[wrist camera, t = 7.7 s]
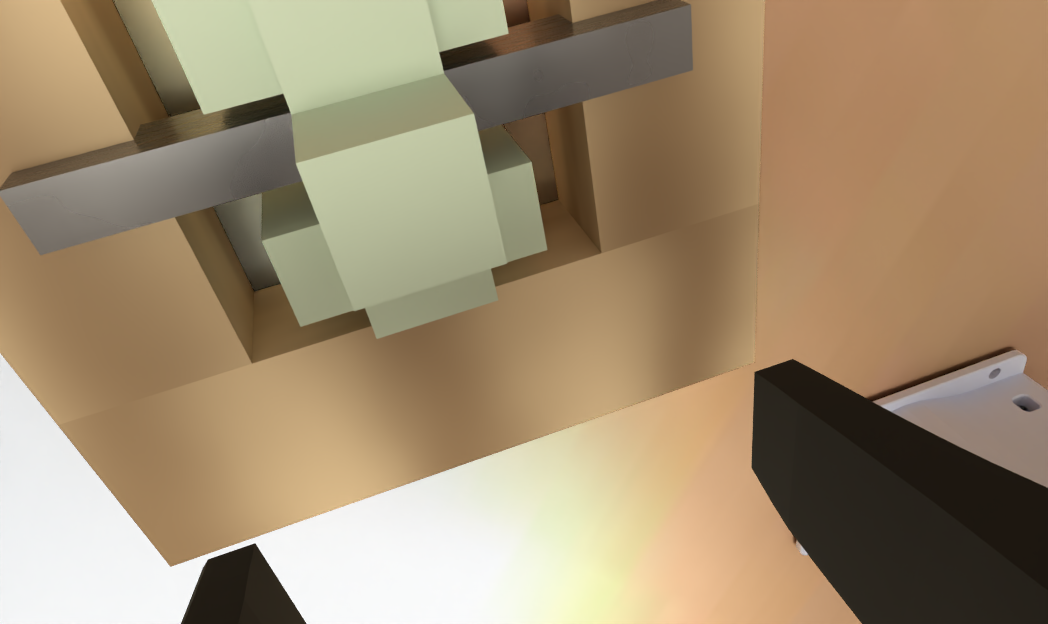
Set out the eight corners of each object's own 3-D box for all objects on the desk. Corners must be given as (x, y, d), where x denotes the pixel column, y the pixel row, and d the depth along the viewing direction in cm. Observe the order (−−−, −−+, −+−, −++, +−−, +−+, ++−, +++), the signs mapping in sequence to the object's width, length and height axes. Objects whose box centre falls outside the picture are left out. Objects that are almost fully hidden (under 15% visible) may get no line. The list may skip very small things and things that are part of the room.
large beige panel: (685, -267, 14) (802, -296, 11) (702, 305, 22) (770, 379, 19) (-205, -78, 12) (-369, -48, 9) (181, 479, 20) (166, 594, 17)
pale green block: (448, -110, 13) (550, -79, 8) (510, 195, 17) (606, 335, 12) (165, -44, 13) (102, 31, 8) (296, 259, 16) (307, 435, 12)
